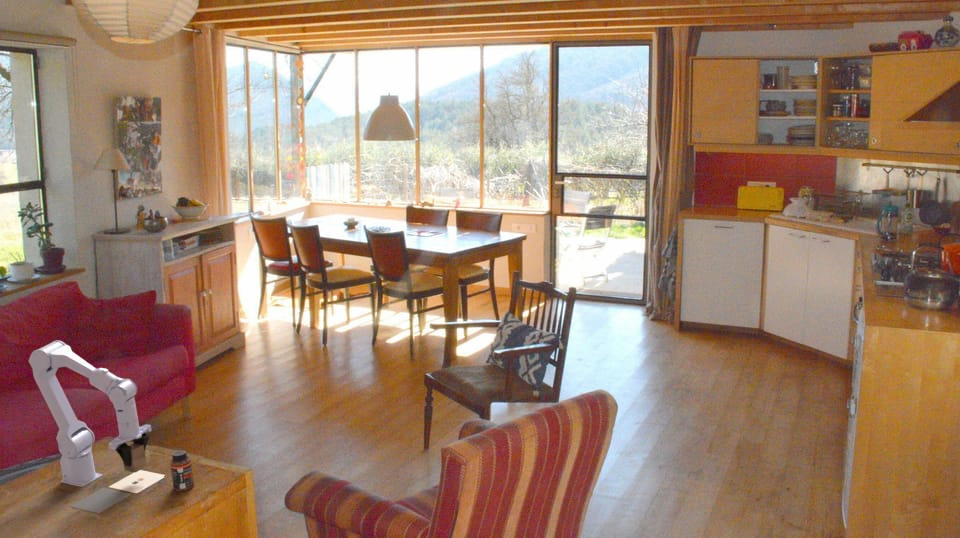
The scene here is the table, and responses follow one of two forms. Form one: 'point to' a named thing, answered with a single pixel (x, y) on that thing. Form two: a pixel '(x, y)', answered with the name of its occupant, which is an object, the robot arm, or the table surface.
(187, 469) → the supplement bottle
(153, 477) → the cream mat
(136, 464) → the walnut block
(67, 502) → the table surface
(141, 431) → the robot arm
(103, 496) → the grey mat
